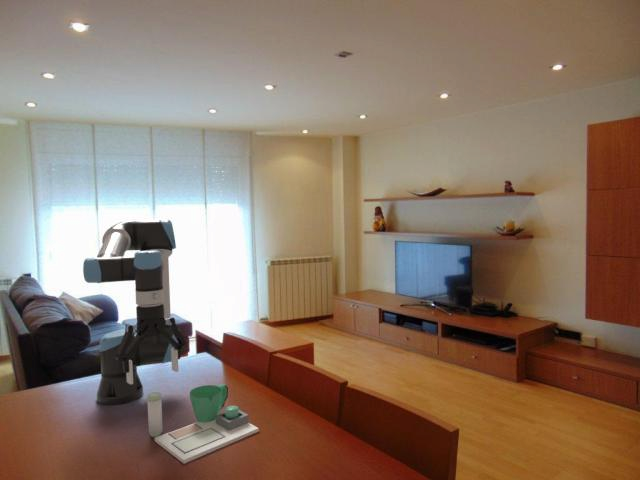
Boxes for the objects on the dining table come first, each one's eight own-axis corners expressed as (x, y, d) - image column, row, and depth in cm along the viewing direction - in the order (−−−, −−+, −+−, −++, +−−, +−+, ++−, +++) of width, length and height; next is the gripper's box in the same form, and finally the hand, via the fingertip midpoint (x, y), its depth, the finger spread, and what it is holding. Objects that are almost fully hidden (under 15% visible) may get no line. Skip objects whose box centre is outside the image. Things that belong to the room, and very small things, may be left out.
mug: (208, 432, 138) (207, 399, 137) (183, 426, 142) (182, 394, 142) (238, 412, 151) (237, 382, 150) (214, 407, 155) (213, 378, 155)
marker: (146, 434, 136) (144, 395, 135) (159, 430, 139) (157, 391, 138) (152, 439, 133) (150, 398, 133) (165, 434, 136) (163, 394, 135)
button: (222, 418, 140) (222, 408, 140) (233, 413, 143) (233, 404, 143) (230, 422, 138) (229, 412, 137) (241, 417, 140) (241, 408, 140)
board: (154, 441, 132) (154, 429, 132) (226, 414, 149) (226, 403, 149) (183, 463, 120) (183, 450, 120) (258, 431, 137) (258, 419, 137)
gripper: (110, 313, 122) (114, 392, 124) (195, 299, 140) (198, 368, 141) (100, 309, 128) (104, 385, 129) (183, 296, 145) (186, 363, 146)
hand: (153, 376), depth 135 cm, fingers open, 13 cm apart
